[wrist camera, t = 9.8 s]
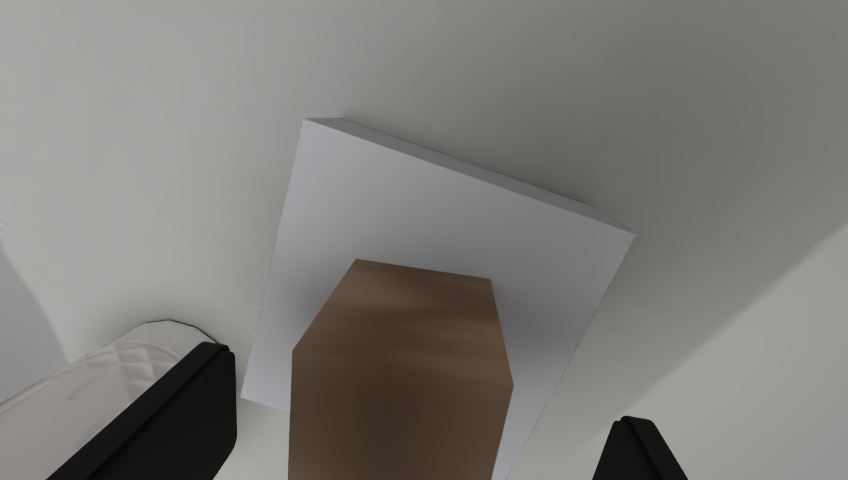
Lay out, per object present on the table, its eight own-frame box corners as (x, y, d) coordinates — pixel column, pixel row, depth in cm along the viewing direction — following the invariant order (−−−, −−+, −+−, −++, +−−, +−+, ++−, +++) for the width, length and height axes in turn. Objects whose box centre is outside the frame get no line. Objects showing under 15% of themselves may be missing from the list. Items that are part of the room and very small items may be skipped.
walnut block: (490, 279, 14) (514, 385, 9) (467, 391, 16) (475, 545, 10) (355, 258, 15) (292, 350, 9) (346, 372, 16) (286, 513, 10)
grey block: (589, 204, 18) (636, 234, 14) (493, 404, 22) (504, 483, 17) (343, 118, 18) (303, 118, 13) (287, 335, 22) (240, 397, 17)
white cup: (181, 448, 24) (3, 664, 15) (84, 354, 23) (-188, 527, 13) (274, 389, 22) (140, 593, 13) (175, 283, 21) (-62, 424, 11)
